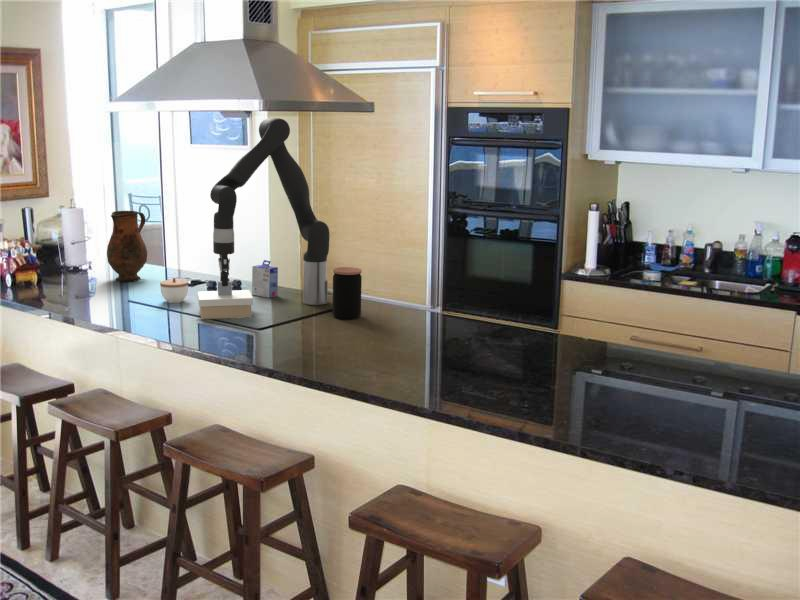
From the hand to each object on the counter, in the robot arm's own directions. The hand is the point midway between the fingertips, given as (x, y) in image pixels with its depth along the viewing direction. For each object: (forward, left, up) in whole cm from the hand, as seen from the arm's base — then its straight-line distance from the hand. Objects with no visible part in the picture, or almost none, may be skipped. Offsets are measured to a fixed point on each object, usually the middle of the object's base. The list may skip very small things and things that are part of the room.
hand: (224, 283), depth 300 cm
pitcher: (+36, -71, -12) cm, 81 cm away
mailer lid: (0, 0, -7) cm, 7 cm away
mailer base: (0, 0, -12) cm, 12 cm away
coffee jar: (-44, +10, -12) cm, 47 cm away
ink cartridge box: (-18, -30, -12) cm, 37 cm away
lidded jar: (+18, -25, -12) cm, 33 cm away
